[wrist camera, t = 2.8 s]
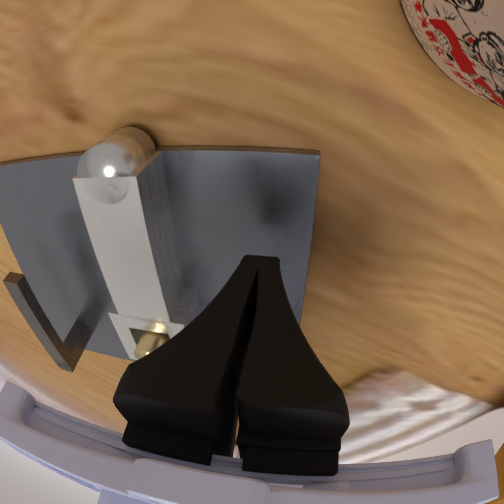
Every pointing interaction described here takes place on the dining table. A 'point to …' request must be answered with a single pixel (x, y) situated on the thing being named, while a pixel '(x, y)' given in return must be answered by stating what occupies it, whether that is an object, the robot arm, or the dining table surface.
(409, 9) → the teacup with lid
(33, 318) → the bracket
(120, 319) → the link
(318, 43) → the dining table surface
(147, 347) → the peg
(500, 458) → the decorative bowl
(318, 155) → the base plate
